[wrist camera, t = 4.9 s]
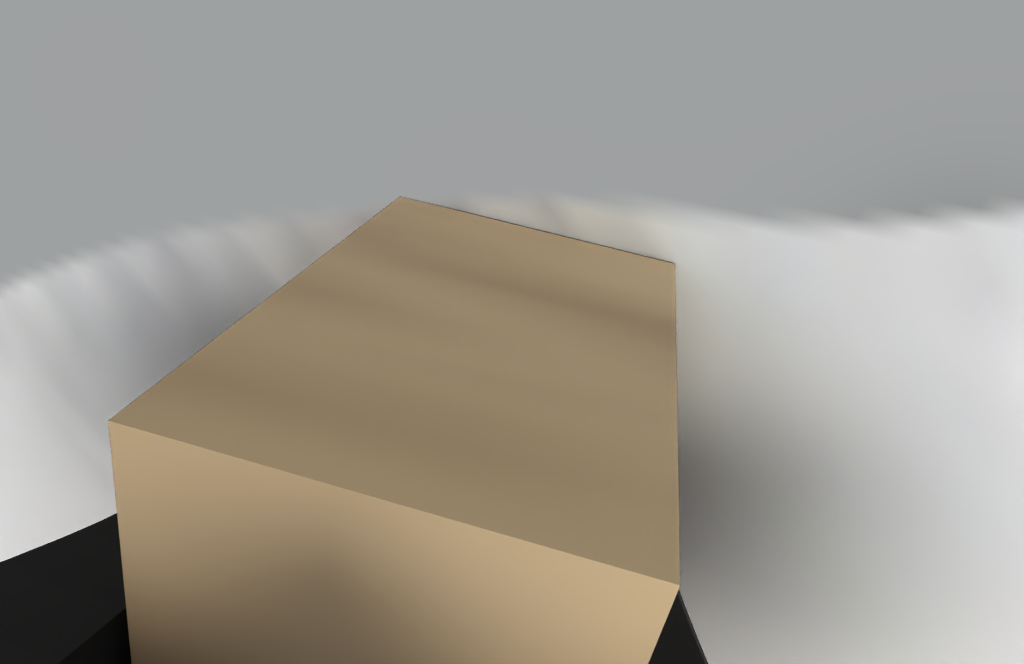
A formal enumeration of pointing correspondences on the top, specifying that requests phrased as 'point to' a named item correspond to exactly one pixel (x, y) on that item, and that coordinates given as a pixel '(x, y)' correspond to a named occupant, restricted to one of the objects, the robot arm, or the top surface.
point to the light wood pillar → (414, 460)
